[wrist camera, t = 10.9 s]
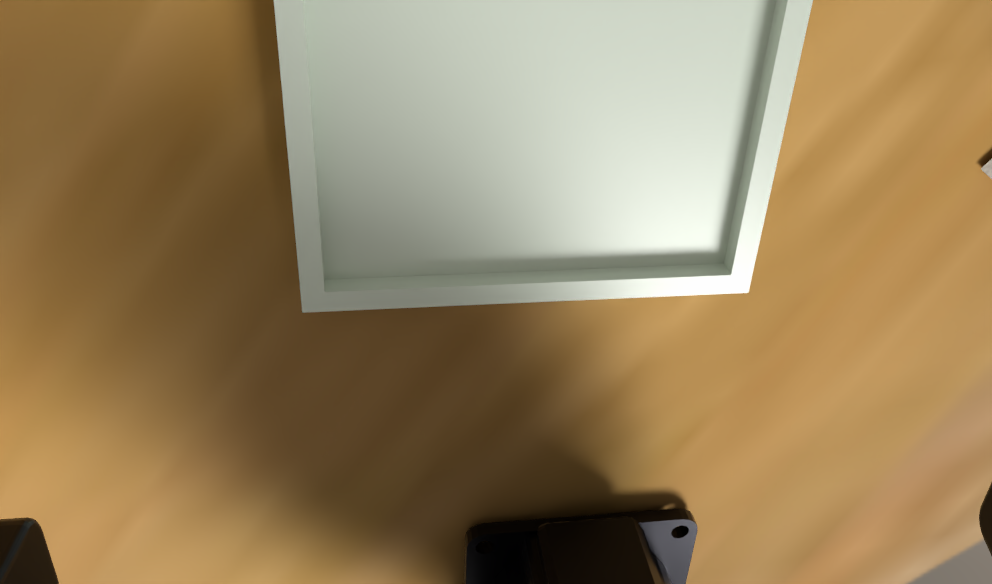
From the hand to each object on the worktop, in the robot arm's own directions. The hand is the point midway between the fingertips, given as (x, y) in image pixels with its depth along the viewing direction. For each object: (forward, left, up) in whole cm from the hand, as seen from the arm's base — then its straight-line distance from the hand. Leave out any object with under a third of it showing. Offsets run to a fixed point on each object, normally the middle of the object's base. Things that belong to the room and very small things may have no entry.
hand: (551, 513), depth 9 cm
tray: (+1, -2, -12) cm, 12 cm away
